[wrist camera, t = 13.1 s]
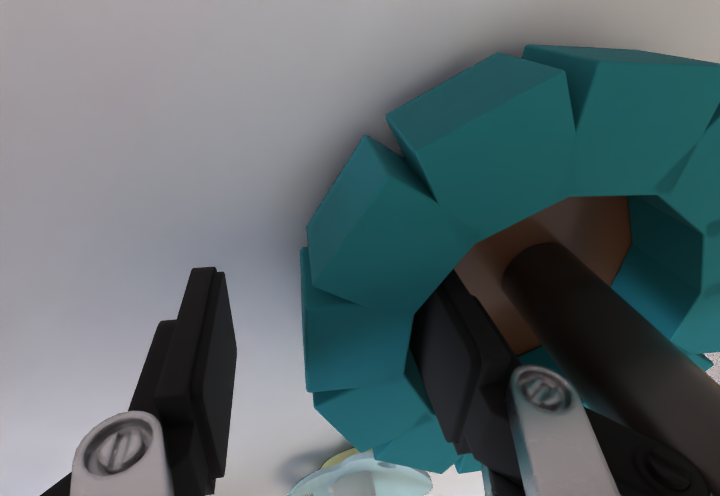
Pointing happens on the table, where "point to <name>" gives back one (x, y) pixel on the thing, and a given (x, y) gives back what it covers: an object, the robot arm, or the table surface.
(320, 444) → the table surface
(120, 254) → the table surface
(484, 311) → the robot arm
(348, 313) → the ring
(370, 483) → the pacifier
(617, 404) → the peg stand
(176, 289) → the table surface
